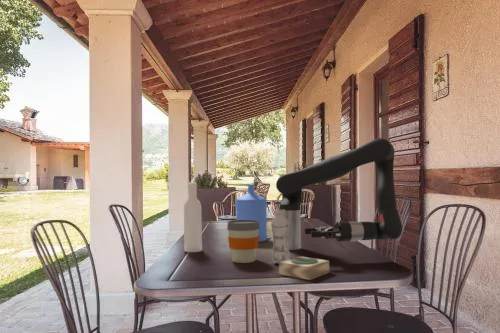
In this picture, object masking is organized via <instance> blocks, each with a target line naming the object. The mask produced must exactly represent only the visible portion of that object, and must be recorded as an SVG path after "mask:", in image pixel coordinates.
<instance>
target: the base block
mask: <svg viewBox="0 0 500 333" xmlns="http://www.w3.org/2000/svg"><path fill="white" fill-rule="evenodd" d="M278 274H279V275H282V276H287V277H293V278H297V279H302V280H308V281H311V280H314V279H317V278H319V277H322V276H324V275H327V274H330V260H328V259H327V260H326V259H322V258H321V259H320V258H314V257H308V256H300V255H298V256H296V257H293V258H290V259H288V260H284V261H281V262H279V264H278Z"/></svg>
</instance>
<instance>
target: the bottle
mask: <svg viewBox="0 0 500 333" xmlns="http://www.w3.org/2000/svg"><path fill="white" fill-rule="evenodd" d="M187 184H188V185H187V188H188V189H187V190H188V195H187V196H188V198H187V199H186V200H185V202H184V205H183V241H184V242H183V249H184V250H183V252H185V253H198V252H199V253H200V252H202V250H203V240H202V239H203V236H202V235H203V234H202V233H203V230H202V229H203V227H202V225H203V224H202V222H203V220H202V219H203V217H202V216H203V215H202V204H201V201H200V200H199V199H198V197H197V191H198V190H197V188H198V185H197V182H188V183H187Z"/></svg>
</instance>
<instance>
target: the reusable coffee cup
mask: <svg viewBox="0 0 500 333" xmlns="http://www.w3.org/2000/svg"><path fill="white" fill-rule="evenodd" d="M226 230H227V231H228V233H227V234H228V236H227V239H228V245H229V246H228V247H229V249H230V253H231V259H232V260H231V261H232V263H237V264H239V263H240V264H248V263H253V262H255V261H256V257H257V256H256V254H257V248H259V242H258V240H259V236H258V230H259V221H256V220H236V219H235V220H234V219H233V220H229V221H227V227H226Z"/></svg>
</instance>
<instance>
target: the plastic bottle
mask: <svg viewBox="0 0 500 333" xmlns="http://www.w3.org/2000/svg"><path fill="white" fill-rule="evenodd" d="M288 229H289V222H288V220H287V219H286V217H285V210H284V209H280V208H277V209H274V218H273V220H272V221H271V231H272V239H273V240H272V241H273V242H272V252H271V253H272V254H271V260H272V263H274V264H278V265H279V262H281V261H284V260H288V259H291V256H290V250H289V249H288Z"/></svg>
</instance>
